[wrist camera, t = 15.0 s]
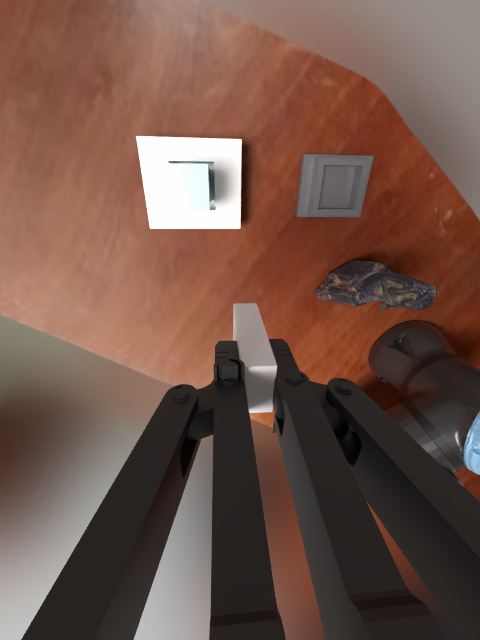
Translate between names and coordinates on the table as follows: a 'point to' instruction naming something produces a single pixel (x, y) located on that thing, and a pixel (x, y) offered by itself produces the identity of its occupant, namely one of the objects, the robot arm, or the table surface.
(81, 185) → the table surface
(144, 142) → the port
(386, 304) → the carved stone figurine
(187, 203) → the plug
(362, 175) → the grey socket
